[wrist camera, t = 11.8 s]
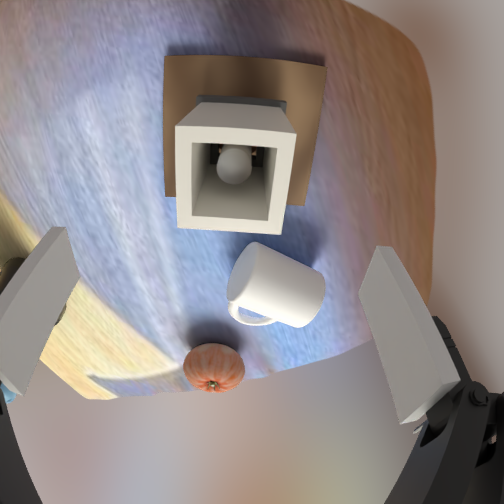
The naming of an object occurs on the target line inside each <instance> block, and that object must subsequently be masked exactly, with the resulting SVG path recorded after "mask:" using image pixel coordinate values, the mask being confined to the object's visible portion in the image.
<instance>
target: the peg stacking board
mask: <svg viewBox="0 0 504 504" xmlns="http://www.w3.org/2000/svg"><path fill="white" fill-rule="evenodd" d="M326 74H327V67H323V66H318V65H312V64H306V63H300V62H293V61H285V60H277V59H268V58H257V57H244V56H225V55H174V56H165V59H164V87H163V151H164V180H165V197H176V173H175V126H176V125H177V124H178V123H179V122H180V121H181V120H182V119H183V118H184V117H185V116H186V115H188V114H189V113H190V112H191V111H192V110H193V109H194V108H195V107H196V96H198V95H223V96H241V97H254V98H265V99H275V100H284V101H286V102H287V107H286V117H287V119H288V120H289V122H290V124H291V125H292V127H293V129H294V130H295V132H296V134H297V135H296V142H295V149H294V156H293V162H292V169H291V175H290V182H289V188H288V194H287V201H286V204H288V205H299V206H304V205H305V200H306V194H307V189H308V184H309V178H310V173H311V167H312V162H313V156H314V150H315V144H316V139H317V133H318V127H319V120H320V114H321V108H322V101H323V95H324V88H325V81H326ZM256 148H257V146H250V145H236V144H220V145H219V153H220V156H219V160H218V163H217V173H218V176H219V177H220V178H221V179H222V180H223V181H224V182H226V183H228V184H240V183H243V182H244V181H246V180H247V179H248V178H249V176H250V174H251V170H252V161H251V155H256Z"/></svg>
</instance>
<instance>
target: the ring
mask: <svg viewBox="0 0 504 504" xmlns="http://www.w3.org/2000/svg"><path fill="white" fill-rule="evenodd" d="M201 102H212V103H234V104H248V105H260V106H271V107H280V108H281V109H282V111H283V112H284V114H285V115H286V107H287V102H286V101H284V100H275V99H265V98H254V97H241V96H223V95H198V96H196V106H198V105H199V104H200V103H201ZM219 145H220V144H219V143H211V145H210V164H217V163H218V160H219V156H220V153H219ZM264 150H265V147H262V146H257V148H256V155H251V161H252V167H262V168H263V160H264Z"/></svg>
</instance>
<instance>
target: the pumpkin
mask: <svg viewBox="0 0 504 504" xmlns="http://www.w3.org/2000/svg"><path fill="white" fill-rule="evenodd" d="M183 369H184V373H185V375H186V377H187V379H188V380H189V382H190V383H191V384H192V385H193V386H195V387H197V388H199V389H201V390H204V391H207V392H217V393H219V392H226V391H228V390H231V389H233V388H235V387H236V386H237V385H238V384H239V383H240V382H241V381H242V379H243V377H244V374H245V367H244V363H243V360H242V358H241V357H240V355H239V354H238V353H237V352H236V351H235V350H233V349H232V348H230V347H228V346H225V345H222V344H217V343H208V344H203V345H199V346H197V347H195V348H194V349H192V350H191V351H190V352H189V353H188V354H187V356H186V358H185V360H184V364H183Z"/></svg>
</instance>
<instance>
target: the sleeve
mask: <svg viewBox="0 0 504 504" xmlns="http://www.w3.org/2000/svg"><path fill="white" fill-rule="evenodd" d="M296 135H297V134H296V132H295V130H294V129H293V127H292V125H291V124H290V122H289V120H288V119H287V117H286V115H285V114H284V112H283V111H282V109H281V108H280V107H271V106H260V105H248V104H234V103H212V102H201V103H200V104H199V105H198V106H196V107H195V108H194V109H193V110H192V111H191V112H190V113H189V114H188V115H186V116H185V117H184V118H183V119H182V120H181V121H180V122H179V123H178V124H177V125H176V126H175V173H176V204H177V225H178V228H188V229H204V230H219V231H234V232H248V233H262V234H276V235H281V231H282V225H283V219H284V213H285V207H286V201H287V194H288V188H289V182H290V175H291V169H292V162H293V156H294V149H295V142H296ZM211 143H219V144H236V145H250V146H262V147H265V150H264V160H263V168H262V167H252V170H251V174H250V176H249V178H248V179H247V180H246V181H244V182H243V183H240V184H228V183H226V182H224V181H223V180H222V179H221V178H220V177H219V176H218V173H217V164H210V145H211Z"/></svg>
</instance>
